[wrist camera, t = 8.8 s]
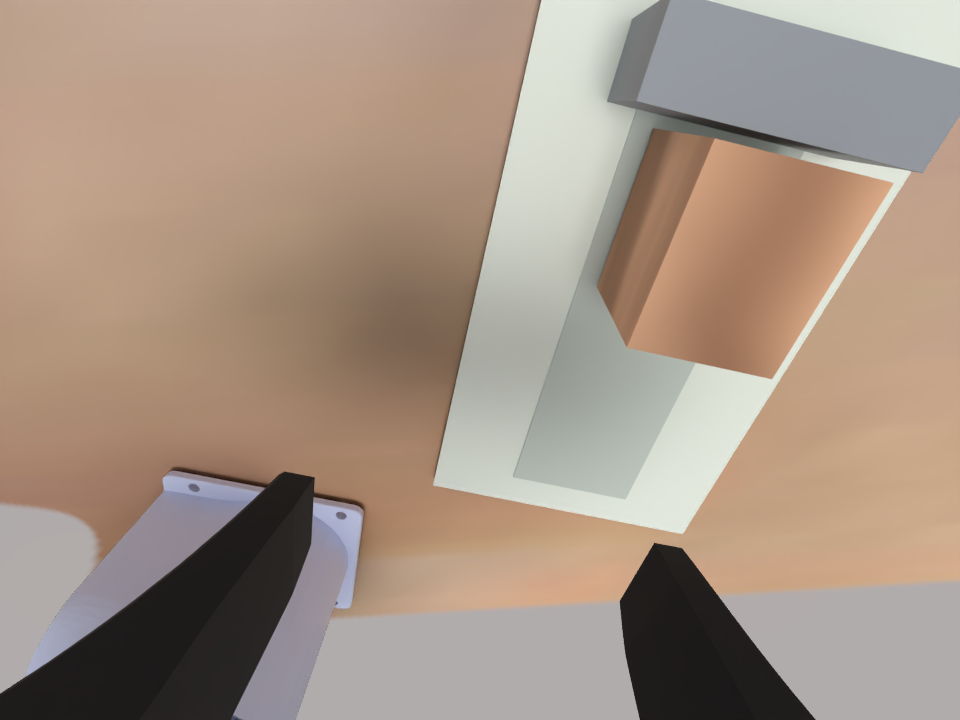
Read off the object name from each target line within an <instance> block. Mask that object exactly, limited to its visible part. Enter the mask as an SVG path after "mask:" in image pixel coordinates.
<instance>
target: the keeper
mask: <svg viewBox="0 0 960 720" xmlns="http://www.w3.org/2000/svg"><path fill="white" fill-rule="evenodd" d="M893 184H894V183H892V182H888V181H884V180H880V179H876V178H872V177H868V176H864V175H860V174H856V173H852V172H848V171H844V170H840V169H836V168H832V167H828V166H824V165H820V164H816V163H812V162H808V161H804V160H800V159H796V158H792V157H788V156H784V155H780V154H776V153H772V152H768V151H764V150H760V149H756V148H752V147H748V146H744V145H740V144H736V143H732V142H728V141H724V140H720V139H716V138H710V137H704V136H698V135H692V134H686V133H680V132H674V131H667V130H661V129H655V128H654V130H653V132H652V135H651V138H650V141H649V143H648V146H647V149H646V152H645V155H644V157H643V160H642V163H641V166H640V169H639V171H638V174H637V177H636V180H635V183H634V185H633V188H632V191H631V194H630V196H629V199H628V202H627V205H626V208H625V210H624V213H623V216H622V219H621V222H620V224H619V227H618V230H617V233H616V236H615V238H614V241H613V244H612V247H611V249H610V252H609V255H608V258H607V261H606V263H605V266H604V269H603V272H602V275H601V277H600V280H599V283H598V286H597V288H598V290H599V292H600V294H601V297H602V299H603V301H604V303H605V305H606V307H607V309H608V311H609V313H610V315H611V317H612V319H613V321H614V323H615V325H616V327H617V329H618V331H619V333H620V335H621V337H622V339H623V341H624V343H625V345H626V347H627V348H631V349H635V350H640V351H644V352H649V353H654V354H658V355H663V356H667V357H672V358H677V359H681V360H686V361H690V362H695V363H699V364H704V365H709V366H713V367H718V368H722V369H727V370H731V371H736V372H741V373H745V374H750V375H754V376H759V377H764V378H768V379H773V377H774V376H775V374H776V372H777V371H778V369H779V367H780V366H781V364H782V363H783V361H784V359H785V358H786V356H787V355H788V353H789V351H790V350H791V348H792V347H793V345H794V343H795V342H796V340H797V338H798V337H799V335H800V334H801V332H802V330H803V329H804V327H805V326H806V324H807V322H808V321H809V319H810V318H811V316H812V314H813V313H814V311H815V309H816V308H817V306H818V305H819V303H820V301H821V300H822V298H823V297H824V295H825V293H826V292H827V290H828V289H829V287H830V285H831V284H832V282H833V281H834V279H835V277H836V276H837V274H838V272H839V271H840V269H841V268H842V266H843V264H844V263H845V261H846V260H847V258H848V256H849V255H850V253H851V252H852V250H853V248H854V247H855V245H856V243H857V242H858V240H859V239H860V237H861V235H862V234H863V232H864V231H865V229H866V227H867V226H868V224H869V223H870V221H871V219H872V218H873V216H874V214H875V213H876V211H877V210H878V208H879V206H880V205H881V203H882V202H883V200H884V198H885V197H886V195H887V194H888V192H889V190H890V189H891V187H892V186H893Z"/></svg>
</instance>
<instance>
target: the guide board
mask: <svg viewBox="0 0 960 720" xmlns="http://www.w3.org/2000/svg"><path fill="white" fill-rule="evenodd" d="M959 116H960V0H541V3H540V7H539V12H538V16H537V21H536V25H535V30H534V34H533V39H532V43H531V48H530V52H529V57H528V61H527V66H526V70H525V75H524V79H523V84H522V88H521V93H520V97H519V102H518V106H517V111H516V115H515V120H514V124H513V128H512V133H511V137H510V142H509V146H508V151H507V155H506V160H505V164H504V169H503V173H502V178H501V182H500V187H499V191H498V196H497V200H496V205H495V209H494V214H493V218H492V223H491V227H490V232H489V236H488V241H487V245H486V249H485V254H484V258H483V263H482V267H481V272H480V276H479V281H478V285H477V290H476V294H475V299H474V303H473V308H472V312H471V317H470V321H469V326H468V330H467V335H466V339H465V344H464V348H463V353H462V357H461V361H460V366H459V370H458V375H457V379H456V384H455V388H454V393H453V397H452V402H451V406H450V411H449V415H448V420H447V424H446V429H445V433H444V438H443V442H442V447H441V451H440V456H439V460H438V465H437V469H436V474H435V478H434V483H433V485H434V486H439V487H444V488H449V489H454V490H459V491H465V492H470V493H475V494H480V495H485V496H490V497H495V498H500V499H506V500H511V501H516V502H521V503H526V504H531V505H536V506H542V507H547V508H552V509H557V510H562V511H567V512H572V513H577V514H583V515H588V516H593V517H598V518H603V519H608V520H613V521H619V522H624V523H629V524H634V525H639V526H644V527H649V528H654V529H660V530H665V531H670V532H675V533H680V534H683V532H684V531H685V529H686V528H687V526H688V524H689V523H690V521H691V520H692V518H693V517H694V515H695V513H696V512H697V510H698V509H699V507H700V505H701V504H702V502H703V501H704V499H705V498H706V496H707V494H708V493H709V491H710V490H711V488H712V486H713V485H714V483H715V482H716V480H717V478H718V477H719V475H720V474H721V472H722V471H723V469H724V467H725V466H726V464H727V463H728V461H729V459H730V458H731V456H732V455H733V453H734V452H735V450H736V448H737V447H738V445H739V444H740V442H741V440H742V439H743V437H744V436H745V434H746V433H747V431H748V429H749V428H750V426H751V425H752V423H753V421H754V420H755V418H756V417H757V415H758V414H759V412H760V410H761V409H762V407H763V406H764V404H765V402H766V401H767V399H768V398H769V396H770V394H771V393H772V391H773V390H774V388H775V387H776V385H777V383H778V382H779V380H780V379H781V377H782V375H783V374H784V372H785V371H786V369H787V368H788V366H789V364H790V363H791V361H792V360H793V358H794V356H795V355H796V353H797V352H798V350H799V349H800V347H801V345H802V344H803V342H804V341H805V339H806V337H807V336H808V334H809V333H810V331H811V330H812V328H813V326H814V325H815V323H816V322H817V320H818V318H819V317H820V315H821V314H822V312H823V310H824V309H825V307H826V306H827V304H828V303H829V301H830V299H831V298H832V296H833V295H834V293H835V291H836V290H837V288H838V287H839V285H840V284H841V282H842V280H843V279H844V277H845V276H846V274H847V272H848V271H849V269H850V268H851V266H852V265H853V263H854V261H855V260H856V258H857V257H858V255H859V253H860V252H861V250H862V249H863V247H864V246H865V244H866V242H867V241H868V239H869V238H870V236H871V234H872V233H873V231H874V230H875V228H876V227H877V225H878V223H879V222H880V220H881V219H882V217H883V215H884V214H885V212H886V211H887V209H888V207H889V206H890V204H891V203H892V201H893V200H894V198H895V196H896V195H897V193H898V192H899V190H900V188H901V187H902V185H903V184H904V182H905V181H906V179H907V177H908V176H909V174H910V173H911V171H913V172H919V173H923V172H924V170H925V169H926V167H927V166H928V164H929V163H930V161H931V159H932V158H933V156H934V155H935V153H936V152H937V150H938V149H939V147H940V145H941V144H942V142H943V141H944V139H945V138H946V136H947V135H948V133H949V131H950V130H951V128H952V127H953V125H954V124H955V122H956V121H957V119H958V117H959ZM654 128H655V129H661V130H667V131H674V132H680V133H686V134H692V135H698V136H704V137H710V138H716V139H720V140H724V141H728V142H732V143H736V144H740V145H744V146H748V147H752V148H756V149H760V150H764V151H768V152H772V153H776V154H780V155H784V156H788V157H792V158H796V159H800V160H804V161H808V162H812V163H816V164H820V165H824V166H828V167H832V168H836V169H840V170H844V171H848V172H852V173H856V174H860V175H864V176H868V177H872V178H876V179H880V180H884V181H888V182H892V183H894V184H893V186H892V187H891V189H890V190H889V192H888V194H887V195H886V197H885V198H884V200H883V202H882V203H881V205H880V206H879V208H878V210H877V211H876V213H875V214H874V216H873V218H872V219H871V221H870V223H869V224H868V226H867V227H866V229H865V231H864V232H863V234H862V235H861V237H860V239H859V240H858V242H857V243H856V245H855V247H854V248H853V250H852V252H851V253H850V255H849V256H848V258H847V260H846V261H845V263H844V264H843V266H842V268H841V269H840V271H839V272H838V274H837V276H836V277H835V279H834V281H833V282H832V284H831V285H830V287H829V289H828V290H827V292H826V293H825V295H824V297H823V298H822V300H821V301H820V303H819V305H818V306H817V308H816V309H815V311H814V313H813V314H812V316H811V318H810V319H809V321H808V322H807V324H806V326H805V327H804V329H803V330H802V332H801V334H800V335H799V337H798V338H797V340H796V342H795V343H794V345H793V347H792V348H791V350H790V351H789V353H788V355H787V356H786V358H785V359H784V361H783V363H782V364H781V366H780V367H779V369H778V371H777V372H776V374H775V376H774V377H773V379H768V378H764V377H759V376H754V375H750V374H745V373H741V372H736V371H731V370H727V369H722V368H718V367H713V366H709V365H704V364H699V363H695V362H690V361H686V360H681V359H677V358H672V357H667V356H663V355H658V354H654V353H649V352H644V351H640V350H635V349H631V348H627V347H626V345H625V343H624V341H623V339H622V337H621V335H620V333H619V331H618V329H617V327H616V325H615V323H614V321H613V319H612V317H611V315H610V313H609V311H608V309H607V307H606V305H605V303H604V301H603V299H602V297H601V294H600V292H599V290H598V288H597V286H598V283H599V280H600V277H601V275H602V272H603V269H604V266H605V263H606V261H607V258H608V255H609V252H610V249H611V247H612V244H613V241H614V238H615V236H616V233H617V230H618V227H619V224H620V222H621V219H622V216H623V213H624V210H625V208H626V205H627V202H628V199H629V196H630V194H631V191H632V188H633V185H634V183H635V180H636V177H637V174H638V171H639V169H640V166H641V163H642V160H643V157H644V155H645V152H646V149H647V146H648V143H649V141H650V138H651V135H652V132H653V130H654Z"/></svg>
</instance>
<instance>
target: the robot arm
mask: <svg viewBox="0 0 960 720" xmlns="http://www.w3.org/2000/svg"><path fill="white" fill-rule="evenodd" d="M314 480H315V477H310V476H305V475H299V474H294V473H289V472H283V473H281V474H279V475H278V476H277V477H276V478H275V479H274V480H273V481H272V482H271V483H270V484H269V485H268V486H267V487H266V488H263V487H258V486H253V485H248V484H242V483H237V482H232V481H227V480H221V479H216V478H211V477H206V476H200V475H195V474H190V473H185V472H179V471H170V472H168V473H167V474H166V475H165V476H164V478H163V487H164V491H163V492H162V493H161V495H160V496H159V497H158V498H157V499H156V500H155V501H154V502H153V504H152V505H151V506H150V507H149V508H148V509H147V510H146V512H145V513H144V514H143V515H142V516H141V517H140V518H139V519H138V521H137V522H136V523H135V524H134V525H133V526H132V527H131V528H130V530H129V531H128V532H127V533H126V534H125V535H124V536H123V537H122V539H121V540H120V541H119V542H118V543H117V544H116V545H115V547H114V548H113V549H112V550H111V551H110V552H109V553H108V554H107V556H106V557H105V558H104V559H103V560H102V561H101V562H100V563H99V565H98V566H97V567H96V568H95V569H94V570H93V571H92V572H91V574H90V575H89V576H88V577H87V578H86V579H85V580H84V582H83V583H82V584H81V585H80V586H79V587H78V588H77V589H76V591H75V592H74V593H73V594H72V595H71V596H70V598H69V599H68V600H67V601H66V603H65V604H64V605H63V606H62V608H61V609H60V611H59V612H58V614H57V615H56V616H55V618H54V619H53V621H52V623H51V624H50V626H49V628H48V629H47V631H46V633H45V634H44V636H43V638H42V640H41V641H40V644H39V645H38V647H37V649H36V651H35V654H34V655H33V658H32V660H31V662H30V665H29V667H28V670H27V674H26V677H25V678H23V679H22V680H20V681H19V682H17V683H16V684H14V685H13V686H11V687H10V688H8V689H7V690H5V691H3V692H2V693H0V720H296V717H297V714H298V712H299V709H300V706H301V702H302V700H303V697H304V694H305V691H306V688H307V685H308V682H309V679H310V676H311V673H312V671H313V668H314V665H315V662H316V659H317V656H318V653H319V650H320V647H321V644H322V641H323V639H324V635H325V632H326V630H327V627H328V624H329V621H330V618H331V615H332V612H333V609H334V608H340V609H347V608H349V607H350V606H351V604H352V601H353V594H354V586H355V579H356V571H357V563H358V555H359V547H360V540H361V532H362V524H363V516H364V512H363V510H362V509H361V508H360V507H359V506H356V505H353V504H347V503H342V502H337V501H332V500H326V499H321V498H316V497H314ZM342 512H343V513H342ZM620 609H621V619H622V629H623V638H624V646H625V654H626V659H627V664H628V668H629V673H630V678H631V682H632V686H633V691H634V696H635V700H636V704H637V709H638V713H639V718H640V720H815V719H814V717H813V716H812V715H811V714H810V713H809V711H808V710H807V709H806V708H805V707H804V705H803V704H802V703H801V702H800V701H799V699H798V698H797V697H796V696H795V694H794V693H793V692H792V691H791V690H790V689H789V687H788V686H787V685H786V683H785V682H784V681H783V680H782V679H781V677H780V676H779V675H778V673H777V672H776V671H775V670H774V668H773V667H772V666H771V665H770V664H769V662H768V661H767V660H766V658H765V657H764V656H763V654H762V653H761V652H760V651H759V649H758V648H757V647H756V646H755V644H754V643H753V642H752V640H751V639H750V638H749V636H748V635H747V634H746V632H745V631H744V630H743V628H742V627H741V626H740V624H739V623H738V622H737V621H736V619H735V618H734V616H733V615H732V614H731V613H730V611H729V610H728V608H727V607H726V606H725V605H724V603H723V602H722V600H721V599H720V598H719V596H718V595H717V594H716V592H715V591H714V590H713V588H712V587H711V586H710V584H709V583H708V582H707V580H706V579H705V578H704V576H703V575H702V574H701V572H700V571H699V570H698V568H697V567H696V566H695V564H694V563H693V562H692V560H691V559H690V558H689V557H688V555H687V554H686V553H685V552H684V550H683V549H682V548H678V547H673V546H667V545H662V544H657V543H654V545H653V546H652V548H651V550H650V551H649V553H648V555H647V556H646V558H645V560H644V561H643V563H642V565H641V566H640V568H639V570H638V571H637V573H636V575H635V576H634V578H633V580H632V582H631V583H630V585H629V587H628V588H627V590H626V592H625V593H624V595H623V597H622V598H621V600H620Z"/></svg>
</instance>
